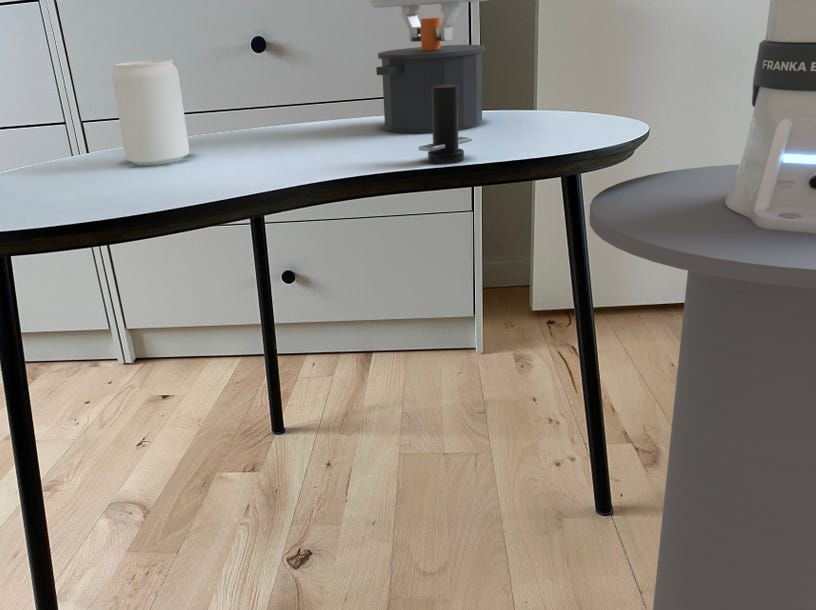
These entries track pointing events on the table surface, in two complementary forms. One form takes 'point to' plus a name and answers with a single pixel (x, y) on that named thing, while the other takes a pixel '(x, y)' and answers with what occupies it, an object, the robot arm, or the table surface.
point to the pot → (430, 91)
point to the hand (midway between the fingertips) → (430, 41)
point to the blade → (445, 127)
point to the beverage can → (150, 111)
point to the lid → (430, 46)
